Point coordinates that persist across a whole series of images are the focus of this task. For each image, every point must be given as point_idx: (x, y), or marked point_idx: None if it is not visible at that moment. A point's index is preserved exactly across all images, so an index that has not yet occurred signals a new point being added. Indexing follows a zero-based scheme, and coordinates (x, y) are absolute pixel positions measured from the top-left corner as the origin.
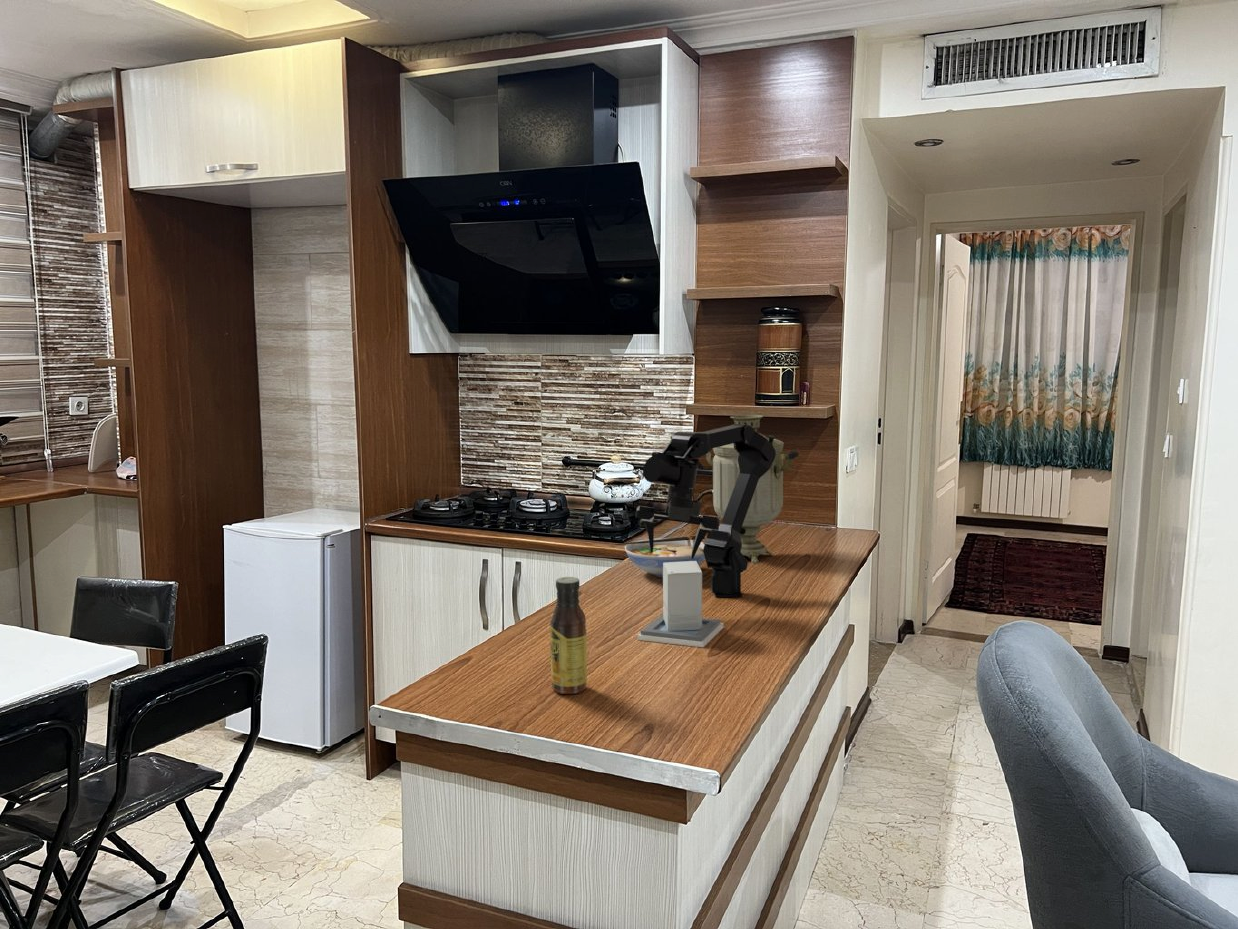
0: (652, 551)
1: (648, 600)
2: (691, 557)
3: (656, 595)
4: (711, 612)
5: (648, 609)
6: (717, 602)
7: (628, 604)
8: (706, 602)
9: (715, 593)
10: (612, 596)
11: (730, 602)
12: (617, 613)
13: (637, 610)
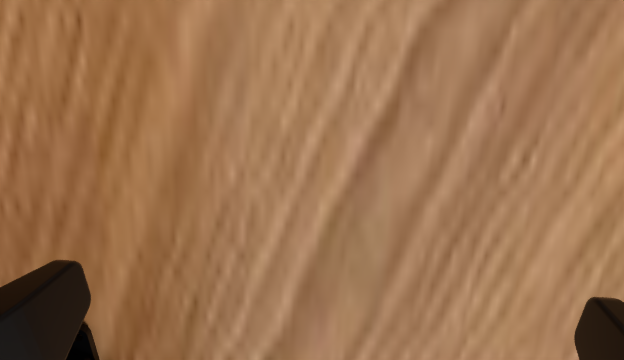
0: (605, 302)
1: (405, 283)
2: (72, 269)
3: (363, 354)
4: (89, 77)
5: (419, 138)
6: (74, 254)
7: (504, 222)
8: (129, 253)
9: (87, 356)
10: (555, 338)
11: (8, 254)
12: (583, 69)
13: (476, 121)
